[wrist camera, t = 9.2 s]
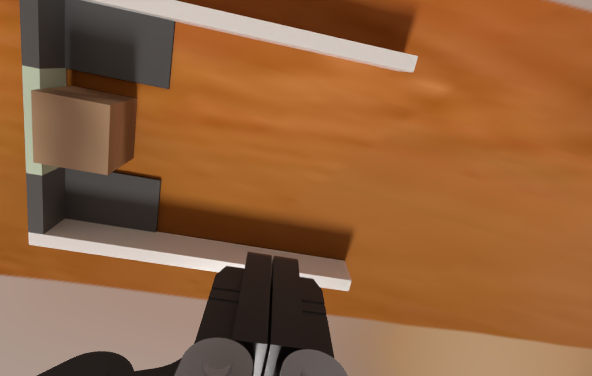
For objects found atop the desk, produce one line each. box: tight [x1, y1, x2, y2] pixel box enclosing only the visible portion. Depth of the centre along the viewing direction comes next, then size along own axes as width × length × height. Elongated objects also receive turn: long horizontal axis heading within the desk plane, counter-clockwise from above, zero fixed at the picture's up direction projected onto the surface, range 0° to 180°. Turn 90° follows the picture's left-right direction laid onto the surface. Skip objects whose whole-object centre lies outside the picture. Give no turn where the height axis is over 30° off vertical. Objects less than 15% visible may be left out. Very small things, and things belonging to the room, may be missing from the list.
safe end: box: [22, 65, 66, 176], centre depth 24 cm, size 1×7×3 cm, turn 168°
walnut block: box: [31, 85, 137, 175], centre depth 24 cm, size 4×4×4 cm
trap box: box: [20, 0, 418, 291], centre depth 26 cm, size 24×18×3 cm
